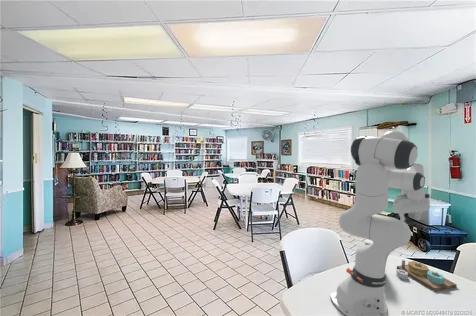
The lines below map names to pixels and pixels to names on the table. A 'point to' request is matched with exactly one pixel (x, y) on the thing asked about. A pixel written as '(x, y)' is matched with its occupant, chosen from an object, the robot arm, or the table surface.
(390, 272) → the table surface
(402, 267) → the gear board
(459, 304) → the table surface
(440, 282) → the teal gear
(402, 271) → the grey gear
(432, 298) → the table surface
